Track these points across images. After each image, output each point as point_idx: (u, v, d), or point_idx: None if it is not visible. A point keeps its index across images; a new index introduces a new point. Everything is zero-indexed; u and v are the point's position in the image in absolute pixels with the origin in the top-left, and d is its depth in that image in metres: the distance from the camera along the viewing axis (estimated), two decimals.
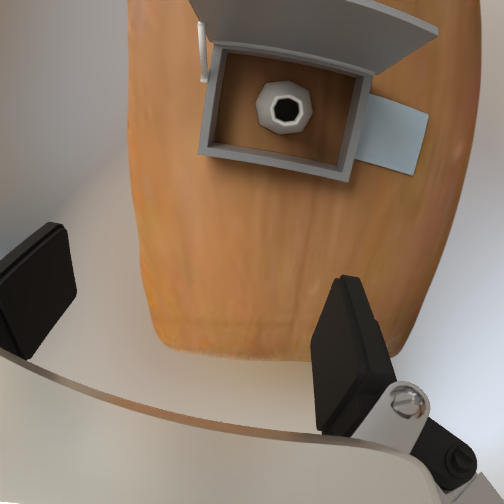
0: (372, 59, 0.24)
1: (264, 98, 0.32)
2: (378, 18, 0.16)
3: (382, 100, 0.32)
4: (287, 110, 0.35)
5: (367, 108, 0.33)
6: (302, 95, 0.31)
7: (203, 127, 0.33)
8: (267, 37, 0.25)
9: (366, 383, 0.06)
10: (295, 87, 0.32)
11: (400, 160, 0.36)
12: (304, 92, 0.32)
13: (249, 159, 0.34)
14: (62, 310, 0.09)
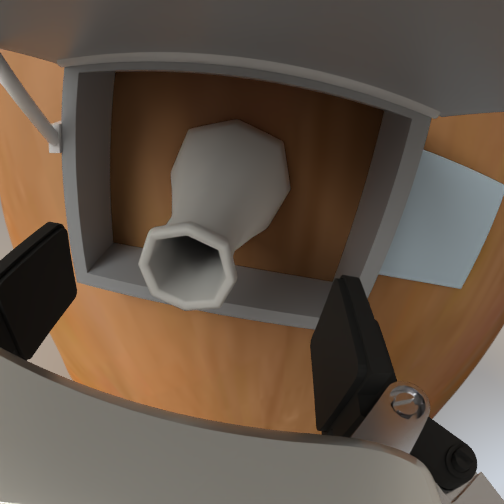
0: (455, 88, 0.07)
1: (176, 174, 0.15)
2: None
3: (433, 161, 0.16)
4: None
5: None
6: (259, 168, 0.14)
7: (72, 239, 0.16)
8: (140, 32, 0.08)
9: (366, 383, 0.06)
10: (247, 141, 0.15)
11: (446, 269, 0.19)
12: (268, 153, 0.15)
13: None
14: (62, 310, 0.09)
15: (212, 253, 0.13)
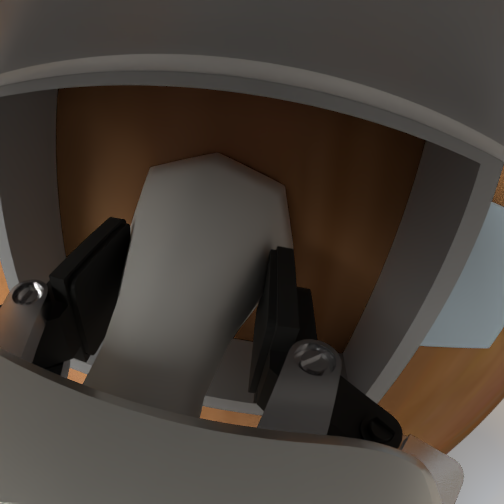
0: None
1: None
2: None
3: None
4: None
5: None
6: (247, 241, 0.09)
7: None
8: (22, 29, 0.03)
9: (276, 338, 0.07)
10: (230, 192, 0.10)
11: (477, 330, 0.15)
12: (261, 209, 0.10)
13: None
14: None
15: None
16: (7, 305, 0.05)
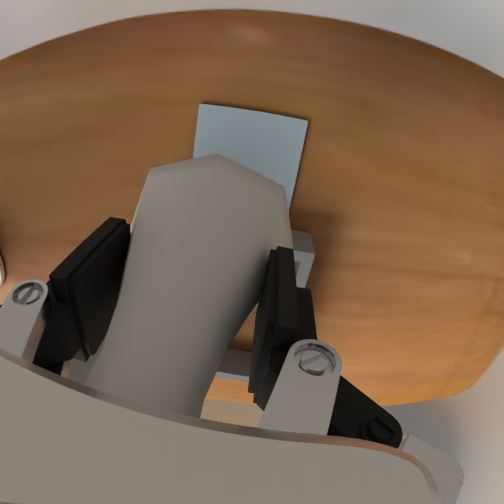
0: None
1: None
2: None
3: None
4: None
5: None
6: (246, 242, 0.09)
7: (243, 379, 0.33)
8: None
9: (276, 338, 0.07)
10: (230, 193, 0.10)
11: (284, 146, 0.24)
12: (261, 210, 0.10)
13: None
14: None
15: None
16: (7, 305, 0.05)
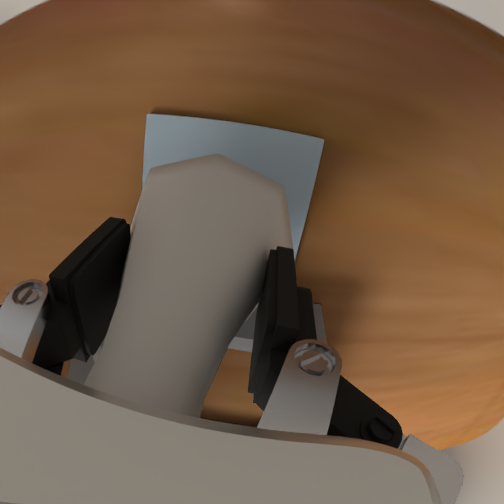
0: None
1: None
2: None
3: None
4: None
5: None
6: (246, 242, 0.09)
7: None
8: None
9: (276, 338, 0.07)
10: (230, 193, 0.10)
11: (285, 182, 0.15)
12: (261, 210, 0.10)
13: None
14: None
15: None
16: (7, 305, 0.05)
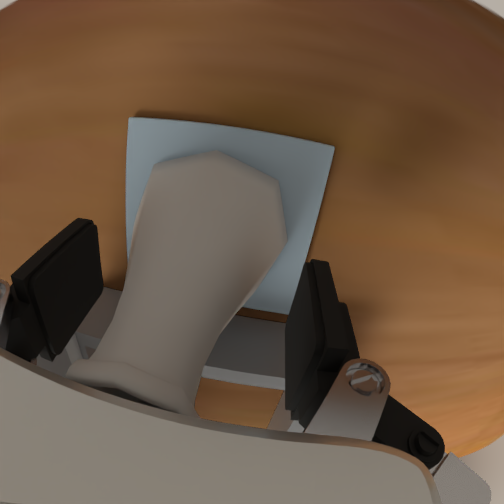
0: None
1: (135, 230, 0.11)
2: None
3: None
4: None
5: None
6: (243, 229, 0.10)
7: None
8: None
9: (324, 359, 0.06)
10: (228, 185, 0.11)
11: (288, 196, 0.13)
12: (256, 201, 0.11)
13: None
14: (89, 306, 0.10)
15: None
16: None
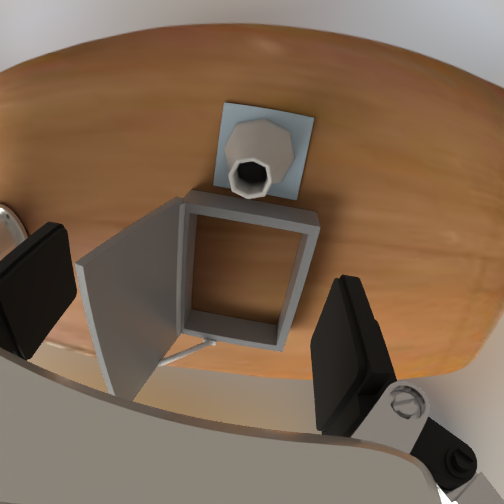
0: (160, 233, 0.27)
1: (232, 146, 0.27)
2: (102, 310, 0.21)
3: (219, 169, 0.31)
4: None
5: None
6: (278, 143, 0.26)
7: (257, 346, 0.38)
8: (165, 315, 0.33)
9: (366, 383, 0.06)
10: (271, 130, 0.27)
11: (295, 139, 0.29)
12: (282, 136, 0.27)
13: (291, 318, 0.35)
14: (62, 310, 0.09)
15: (255, 183, 0.25)
16: None
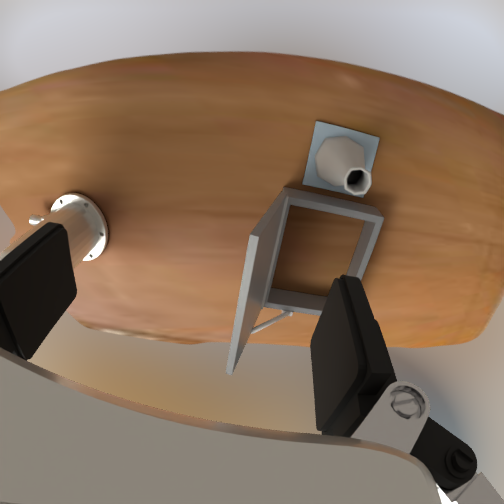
0: (277, 219, 0.35)
1: (327, 156, 0.36)
2: (253, 274, 0.29)
3: (308, 171, 0.40)
4: None
5: (317, 185, 0.41)
6: (361, 156, 0.35)
7: None
8: (263, 288, 0.41)
9: (366, 383, 0.06)
10: (353, 146, 0.36)
11: (365, 152, 0.38)
12: (361, 151, 0.36)
13: None
14: (62, 310, 0.09)
15: (349, 184, 0.34)
16: None
